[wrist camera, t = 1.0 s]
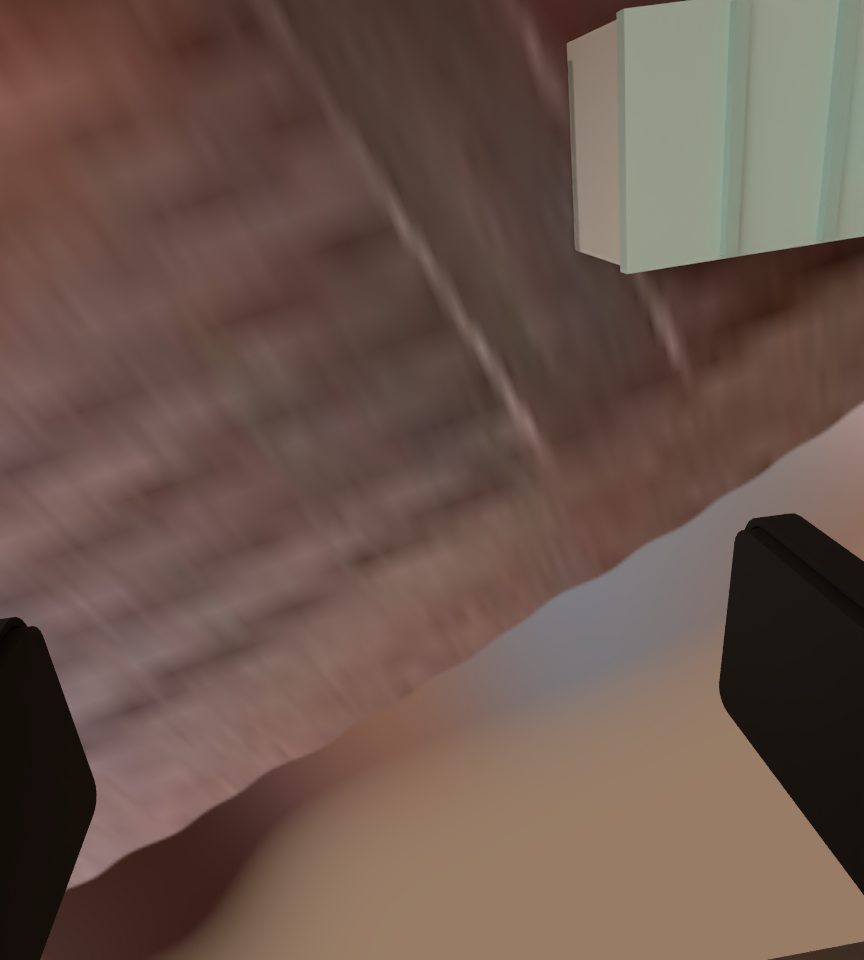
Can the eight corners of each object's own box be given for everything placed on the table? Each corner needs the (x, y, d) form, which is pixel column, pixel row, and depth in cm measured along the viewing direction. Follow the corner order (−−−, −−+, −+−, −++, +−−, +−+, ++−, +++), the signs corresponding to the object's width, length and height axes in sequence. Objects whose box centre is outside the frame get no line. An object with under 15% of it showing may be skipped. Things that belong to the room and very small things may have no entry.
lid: (607, 17, 30) (697, -28, 23) (932, -25, 31) (1112, -79, 24) (612, 268, 34) (689, 296, 27) (897, 223, 36) (1040, 238, 29)
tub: (566, 43, 36) (621, 17, 29) (828, 9, 37) (935, -23, 30) (575, 250, 40) (624, 266, 33) (809, 213, 41) (899, 223, 35)
